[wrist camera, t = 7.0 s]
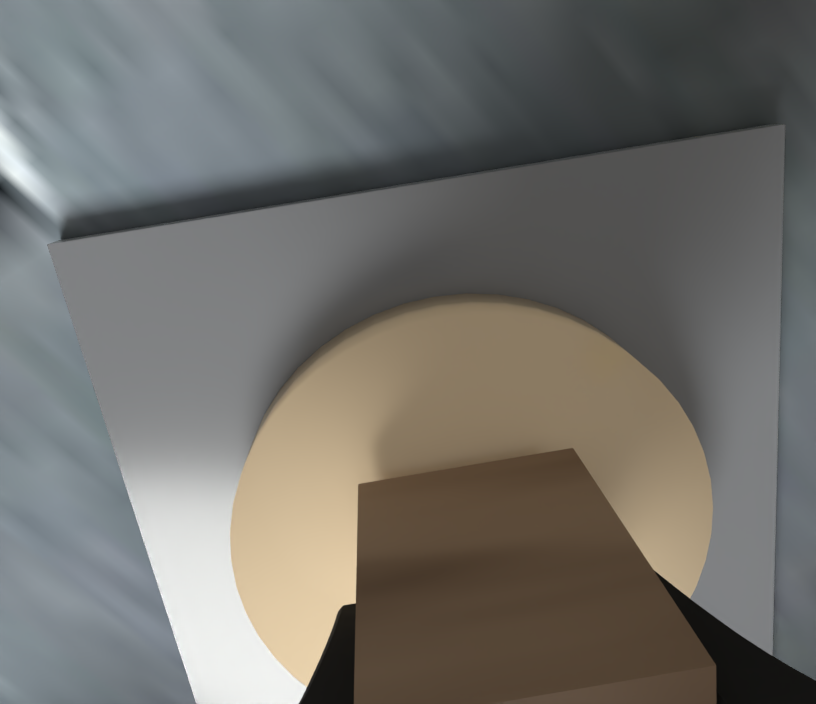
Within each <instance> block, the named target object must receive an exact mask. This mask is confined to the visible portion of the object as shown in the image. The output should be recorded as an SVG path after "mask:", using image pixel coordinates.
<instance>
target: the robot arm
mask: <svg viewBox="0 0 816 704" xmlns="http://www.w3.org/2000/svg"><path fill="white" fill-rule="evenodd" d="M654 572H655V573H656V575H657V576H658V578H659V579H660V581H661V582H662V584H663V585H664V587H665V588H666V590H667V591H668V593H669V594H670V596H671V597H672V599H673V600H674V602H675V603H676V605H677V607H678V608H679V610H680V611H681V613H682V614H683V616H684V617H685V619H686V620H687V622H688V623H689V625H690V626H691V628H692V629H693V631H694V632H695V634H696V635H697V637H698V638H699V640H700V641H701V643H702V644H703V646H704V648H705V649H706V651H707V652H708V654H709V655H710V657H711V658H712V660H713V661H714V663H715V664H716V693H717V704H816V681H815V680H813V679H811V678H810V677H808V676H806V675H804V674H802V673H801V672H799V671H797V670H795V669H793V668H792V667H790V666H788V665H786V664H785V663H783V662H781V661H780V660H778V659H777V658H775V657H773V656H772V655H770V654H768V653H767V652H765V651H764V650H762V649H761V648H759V647H758V646H756V645H755V644H753V643H751V642H750V641H748V640H747V639H745V638H744V637H742V636H741V635H739V634H738V633H736V632H735V631H734V630H732V629H731V628H729V627H728V626H726V625H725V624H724V623H722V622H721V621H720V620H718V619H717V618H716V617H714V616H713V615H711V614H710V613H709V612H707V611H706V610H705V609H703V608H702V607H700V606H699V605H698V604H696V603H695V602H694V601H693V600H691V599H690V598H689V597H687V596H686V595H685V594H683V593H682V592H681V591H680V590H678V589H677V588H676V587H675V586H673V585H672V584H671V583H669V582H668V581H667V580H666V579H664V578H663V577H662V576H661V575H659V574H658V573H657V572H656V571H654ZM355 619H356V603H355V604H349V605H343V606H342V607H341V608H340V610H339V611H338V613H337V616H336V619H335V622H334V625H333V628H332V631H331V633H330V636H329V639H328V641H327V644H326V646H325V648H324V651H323V653H322V656H321V658H320V660H319V663H318V665H317V667H316V669H315V671H314V673H313V675H312V678H311V680H310V682H309V684H308V686H307V688H306V690H305V692H304V694H303V696H302V698H301V700H300V702H299V704H354V670H355Z"/></svg>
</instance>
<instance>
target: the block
mask: <svg viewBox="0 0 816 704" xmlns="http://www.w3.org/2000/svg"><path fill="white" fill-rule="evenodd" d="M354 704H717V693H716V664H715V663H714V661H713V660H712V658H711V657H710V655H709V654H708V652H707V651H706V649H705V648H704V646H703V644H702V643H701V641H700V640H699V638H698V637H697V635H696V634H695V632H694V631H693V629H692V628H691V626H690V625H689V623H688V622H687V620H686V619H685V617H684V616H683V614H682V613H681V611H680V610H679V608H678V607H677V605H676V603H675V602H674V600H673V599H672V597H671V596H670V594H669V593H668V591H667V590H666V588H665V587H664V585H663V584H662V582H661V581H660V579H659V578H658V576H657V575H656V573H655V572H654V570H653V569H652V567H651V566H650V564H649V562H648V561H647V559H646V558H645V556H644V555H643V553H642V552H641V550H640V549H639V547H638V546H637V544H636V543H635V541H634V540H633V538H632V537H631V535H630V534H629V532H628V531H627V529H626V528H625V526H624V525H623V523H622V521H621V520H620V518H619V517H618V515H617V514H616V512H615V511H614V509H613V508H612V506H611V505H610V503H609V502H608V500H607V499H606V497H605V496H604V494H603V493H602V491H601V490H600V488H599V487H598V485H597V484H596V482H595V480H594V479H593V477H592V476H591V474H590V473H589V471H588V470H587V468H586V467H585V465H584V464H583V462H582V461H581V459H580V458H579V456H578V455H577V453H576V452H575V450H574V449H573V448H569V449H563V450H557V451H551V452H545V453H539V454H533V455H527V456H521V457H515V458H509V459H504V460H498V461H492V462H486V463H480V464H474V465H468V466H462V467H456V468H450V469H444V470H438V471H432V472H426V473H420V474H414V475H408V476H402V477H396V478H390V479H385V480H379V481H373V482H367V483H361V484H358V518H357V568H356V619H355V670H354Z"/></svg>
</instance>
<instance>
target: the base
mask: <svg viewBox="0 0 816 704" xmlns="http://www.w3.org/2000/svg"><path fill="white" fill-rule="evenodd" d="M784 157H785V124H769V125H763V126H757V127H751V128H745V129H739V130H733V131H726V132H720V133H714V134H708V135H702V136H696V137H690V138H683V139H677V140H671V141H665V142H659V143H653V144H647V145H641V146H634V147H628V148H622V149H616V150H610V151H604V152H598V153H591V154H585V155H579V156H573V157H567V158H561V159H555V160H549V161H542V162H536V163H530V164H524V165H518V166H512V167H506V168H499V169H493V170H487V171H481V172H475V173H469V174H463V175H457V176H450V177H444V178H438V179H432V180H426V181H420V182H414V183H407V184H401V185H395V186H389V187H383V188H377V189H371V190H365V191H358V192H352V193H346V194H340V195H334V196H328V197H322V198H315V199H309V200H303V201H297V202H291V203H285V204H279V205H273V206H266V207H260V208H254V209H248V210H242V211H236V212H230V213H223V214H217V215H211V216H205V217H199V218H193V219H187V220H181V221H174V222H168V223H162V224H156V225H150V226H144V227H138V228H131V229H125V230H119V231H113V232H107V233H101V234H95V235H89V236H82V237H76V238H70V239H64V240H59V241H56V242H53V243H50V244H48V245H47V246H48V249H49V252H50V255H51V258H52V261H53V264H54V267H55V270H56V273H57V276H58V279H59V282H60V285H61V289H62V292H63V295H64V298H65V301H66V304H67V307H68V310H69V313H70V316H71V319H72V322H73V325H74V329H75V332H76V335H77V338H78V341H79V344H80V347H81V350H82V353H83V356H84V359H85V362H86V365H87V368H88V372H89V375H90V378H91V381H92V384H93V387H94V390H95V393H96V396H97V399H98V402H99V405H100V408H101V411H102V415H103V418H104V421H105V424H106V427H107V430H108V433H109V436H110V439H111V442H112V445H113V448H114V451H115V455H116V458H117V461H118V464H119V467H120V470H121V473H122V476H123V479H124V482H125V485H126V488H127V491H128V494H129V498H130V501H131V504H132V507H133V510H134V513H135V516H136V519H137V522H138V525H139V528H140V531H141V534H142V538H143V541H144V544H145V547H146V550H147V553H148V556H149V559H150V562H151V565H152V568H153V571H154V574H155V577H156V581H157V584H158V587H159V590H160V593H161V596H162V599H163V602H164V605H165V608H166V611H167V614H168V617H169V620H170V624H171V627H172V630H173V633H174V636H175V639H176V642H177V645H178V648H179V651H180V654H181V657H182V660H183V664H184V667H185V670H186V673H187V676H188V679H189V682H190V685H191V688H192V691H193V694H194V697H195V700H196V703H197V704H299V702H300V700H301V698H302V696H303V694H304V692H305V690H306V688H307V686H308V684H309V682H310V680H311V678H312V675H313V673H314V671H315V669H316V667H317V665H318V663H319V660H320V658H321V656H322V653H323V651H324V648H325V646H326V644H327V641H328V639H329V636H330V633H331V631H332V628H333V625H334V622H335V619H336V616H337V613H338V611H339V610H340V608H341V607H342V606H343V605H349V604H355V603H356V568H357V518H358V484H361V483H367V482H373V481H379V480H385V479H390V478H396V477H402V476H408V475H414V474H420V473H426V472H432V471H438V470H444V469H450V468H456V467H462V466H468V465H474V464H480V463H486V462H492V461H498V460H504V459H509V458H515V457H521V456H527V455H533V454H539V453H545V452H551V451H557V450H563V449H569V448H573V449H574V450H575V452H576V453H577V455H578V456H579V458H580V459H581V461H582V462H583V464H584V465H585V467H586V468H587V470H588V471H589V473H590V474H591V476H592V477H593V479H594V480H595V482H596V484H597V485H598V487H599V488H600V490H601V491H602V493H603V494H604V496H605V497H606V499H607V500H608V502H609V503H610V505H611V506H612V508H613V509H614V511H615V512H616V514H617V515H618V517H619V518H620V520H621V521H622V523H623V525H624V526H625V528H626V529H627V531H628V532H629V534H630V535H631V537H632V538H633V540H634V541H635V543H636V544H637V546H638V547H639V549H640V550H641V552H642V553H643V555H644V556H645V558H646V559H647V561H648V562H649V564H650V566H651V567H652V569H653V570H654V571H656V572H657V573H658V574H659V575H661V576H662V577H663V578H664V579H666V580H667V581H668V582H669V583H671V584H672V585H673V586H675V587H676V588H677V589H678V590H680V591H681V592H682V593H683V594H685V595H686V596H687V597H689V598H690V599H691V600H693V601H694V602H695V603H696V604H698V605H699V606H700V607H702V608H703V609H705V610H706V611H707V612H709V613H710V614H711V615H713V616H714V617H716V618H717V619H718V620H720V621H721V622H722V623H724V624H725V625H726V626H728V627H729V628H731V629H732V630H734V631H735V632H736V633H738V634H739V635H741V636H742V637H744V638H745V639H747V640H748V641H750V642H751V643H753V644H755V645H756V646H758V647H759V648H761V649H762V650H764V651H765V652H767V653H768V654H770V655H773V613H774V572H775V530H776V489H777V447H778V406H779V364H780V323H781V281H782V240H783V198H784Z"/></svg>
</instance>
